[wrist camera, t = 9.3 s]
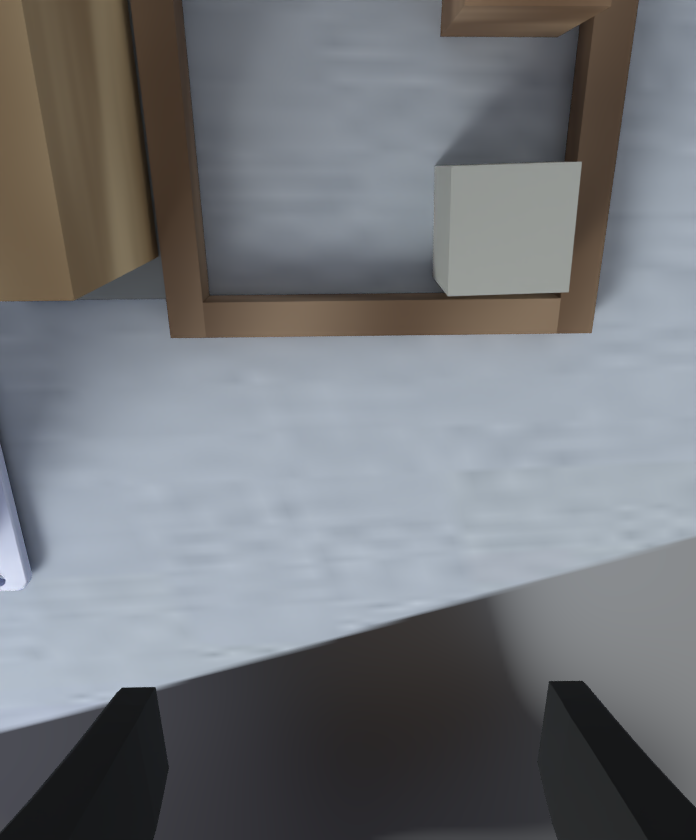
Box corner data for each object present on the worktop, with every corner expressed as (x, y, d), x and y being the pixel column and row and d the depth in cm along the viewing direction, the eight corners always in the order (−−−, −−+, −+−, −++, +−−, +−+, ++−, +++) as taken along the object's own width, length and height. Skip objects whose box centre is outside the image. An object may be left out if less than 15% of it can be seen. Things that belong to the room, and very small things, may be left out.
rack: (178, 329, 19) (170, 338, 18) (119, -190, 14) (104, -215, 13) (579, 324, 19) (591, 332, 18) (648, -194, 14) (669, -219, 13)
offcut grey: (432, 276, 18) (447, 296, 16) (434, 165, 17) (451, 166, 14) (534, 272, 18) (568, 292, 16) (543, 162, 17) (582, 161, 14)
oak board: (69, 257, 18) (-57, 301, 12) (7, -96, 15) (-199, -255, 9) (158, 256, 18) (74, 300, 12) (115, -98, 15) (-24, -257, 9)
